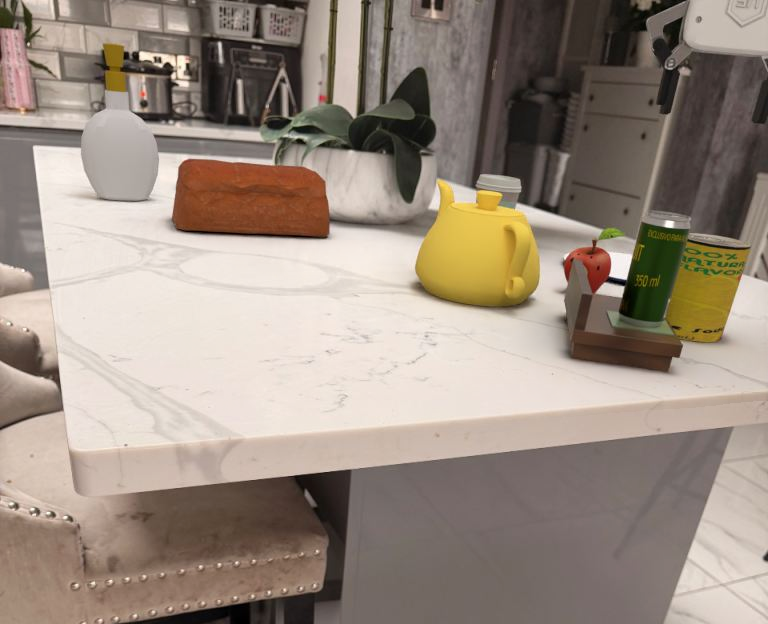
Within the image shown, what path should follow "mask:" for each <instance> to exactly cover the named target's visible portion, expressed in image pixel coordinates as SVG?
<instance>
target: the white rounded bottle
mask: <svg viewBox="0 0 768 624" xmlns="http://www.w3.org/2000/svg"><path fill="white" fill-rule="evenodd" d="M102 49H103V53H104V57H105V63H106V66H107V67H109V70H104V76H105V89H104V98H105V99H104V101H105V108H104V109H102V110H100V111H98V112H96V113H94V114H93V115H92V116H91V117H90V118H89V120H88V121H86V123H85V125H84V127H83V131H82V135H81V137H80V138H81V139H80V140H81V141H80V142H81V143H80V157H81V161H82V167H83V171H84V173H85V175H86V177H87V179H88V181H89V183H90V185H91V187H92V189H93V191H94V192H95V193H96V196H98V197H100V198H101V199H104V200H106V201H122V202H141V201H145V200H147V199H148V198H149V197H150V195H151V193H152V191H153V189H154V187H155V184H156V181H157V179H158V175H159V164H160V157H159V156H160V155H159V148H158V143H157V141H156V138H155V136H154V133H153V131H152V129H151V128H150V127H149V125H148V124H147V123H146V122H145V121H144V119H143V118H141V116H139V115H137V114H135V113H134V112H132V111H131V110H130V99H129V96H130V95H129V91H127V78H126V72H124V71H121V68H124V55H125V45H122V44H117V43H109V42H106V43H102Z"/></svg>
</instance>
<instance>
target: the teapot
mask: <svg viewBox="0 0 768 624" xmlns="http://www.w3.org/2000/svg"><path fill="white" fill-rule="evenodd" d="M436 184H437V186H438V189H439V196H440V199H439V206H438V212H437V216H436V218H435V222H434V223H433V224H432V226H431V228H430V229H429V231H428V232H427V234H426V235H425V237H424V239H423V240H422V243H421V245H420V248H419V250H418V252H417V256H416V260H415V264H414V265H415V266H414V270H415V274H416V276H417V278H418V280H419V282H420V283H421V285H422V286H423V288H424V290H425V291H427V293H430V294H431V295H433V296H435V297H437V298H441V299H444V300H446V301H447V300H448V301H451V302H455V303H459V304H466V305H471V306H482V307H511V306H516V305H519V304H522V303H523V302H524V301H525V300H527V299H528V298H529V297H530V296H532V294H533V293H534V292H535V291H536V290H537V288H538V287H539V284H540V278H541V264H540V263H541V262H540V256H539V255H540V254H539V249H538V246H537V242H536V239H535V236H534V233H533V230H532V227H531V225H530V222H529V221H528V218H527V216H526V214H525V213H524V212H523V211H521V210H518V209H516V208H515V209H511V208H506V207H501V206H498V204H499V202H500V200H501V198H502V194H501V193H498V192H493V191H484V190H480V191H477V190H476V195H477V201H478V203H476V202H455V195H454V192H453V189H452V187H451V185H450V184H449V183H448V182H446V181H445V180H442V179H437V180H436Z"/></svg>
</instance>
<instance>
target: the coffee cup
mask: <svg viewBox="0 0 768 624" xmlns="http://www.w3.org/2000/svg"><path fill="white" fill-rule="evenodd" d="M475 187H476V192H477V191H480V190H484V191H493V192H498V193H501V194H502V198H501V200H500V202H499V204H498V206H501V207H506V208H511V209H515V210H516V207H517V203H518V200H519V196H520V193H521V192H522V183H521V179H520V178H517V177H514V176H513V177H512V176H507V175H501V174H490V173H488V174H487V173H483V174H480V175H479V177H478V179H477V181H476V184H475ZM475 203H478V201H477V194H476V196H475Z"/></svg>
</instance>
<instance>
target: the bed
mask: <svg viewBox="0 0 768 624" xmlns="http://www.w3.org/2000/svg"><path fill="white" fill-rule="evenodd" d="M566 285H567V286H566V290H565V295H564V299H563V302H564V308H565V315H564V320H565V323H567V327H568V332H569V338H570V339H569V340H570V342H571V347H570V358H572V359H580V360H585V361H593V362H599V363H605V364H612V365H620V366H627V367H631V368H638V369H646V370H652V371H653V370H655V371H660V372H665V373H669V371H670V367H671V363H672V361H673V358H676V359H680V357H681V354H682V350H683V347H684V344H683V342H682V341H681V339H680V338H678V336H677V334H676V333H675V331H674V330H673V328H672V326H671V325H670V323H669V321H668V320H667V318H666V317H665V320H664V322H663V323H662V324H661V325H660V326H659V327H655V328H648V327H640V326H635V325H631V324H628V323H625V322H623V321H621V320H620V319H619V313H618V312H619V308H620V304H621V300H622V296H613V295H606V294H599V293H595V294H593V293H592V291H591V288H590V284H589V281H588V278H587V275H586V272H585V269H584V266H583V262H582V260H575V259H573V262H572V266H571V271H570V276H569V280H568V283H567V284H566Z"/></svg>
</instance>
